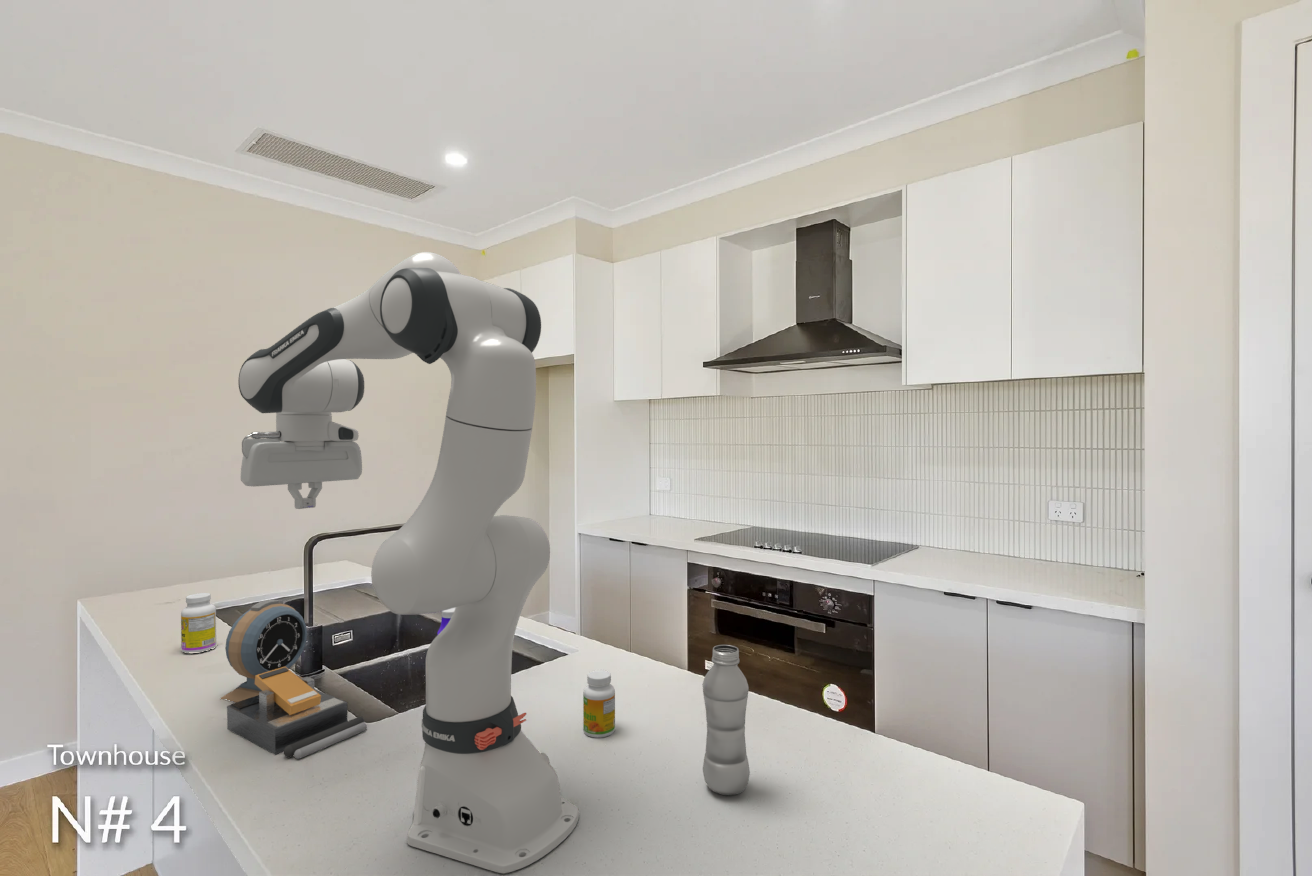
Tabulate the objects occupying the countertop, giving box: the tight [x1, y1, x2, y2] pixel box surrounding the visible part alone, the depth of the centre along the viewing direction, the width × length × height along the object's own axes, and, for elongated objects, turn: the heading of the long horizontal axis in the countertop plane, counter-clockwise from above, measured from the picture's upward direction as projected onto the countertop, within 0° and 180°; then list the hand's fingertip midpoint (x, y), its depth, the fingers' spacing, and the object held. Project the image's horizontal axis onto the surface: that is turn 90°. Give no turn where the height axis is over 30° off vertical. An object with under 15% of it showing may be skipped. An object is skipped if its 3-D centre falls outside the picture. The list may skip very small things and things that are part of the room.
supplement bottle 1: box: [180, 592, 217, 653], centre depth 148 cm, size 7×7×13 cm
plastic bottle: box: [702, 644, 751, 796], centre depth 91 cm, size 6×7×20 cm
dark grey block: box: [226, 676, 349, 756], centre depth 110 cm, size 16×12×7 cm
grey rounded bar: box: [283, 715, 368, 760], centre depth 104 cm, size 13×3×2 cm, turn 147°
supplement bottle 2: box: [582, 669, 616, 739], centre depth 108 cm, size 5×5×10 cm
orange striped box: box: [255, 667, 321, 715], centre depth 110 cm, size 12×5×2 cm, turn 57°
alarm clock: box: [220, 599, 308, 703], centre depth 126 cm, size 14×10×18 cm
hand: (305, 508), depth 115 cm, fingers closed
